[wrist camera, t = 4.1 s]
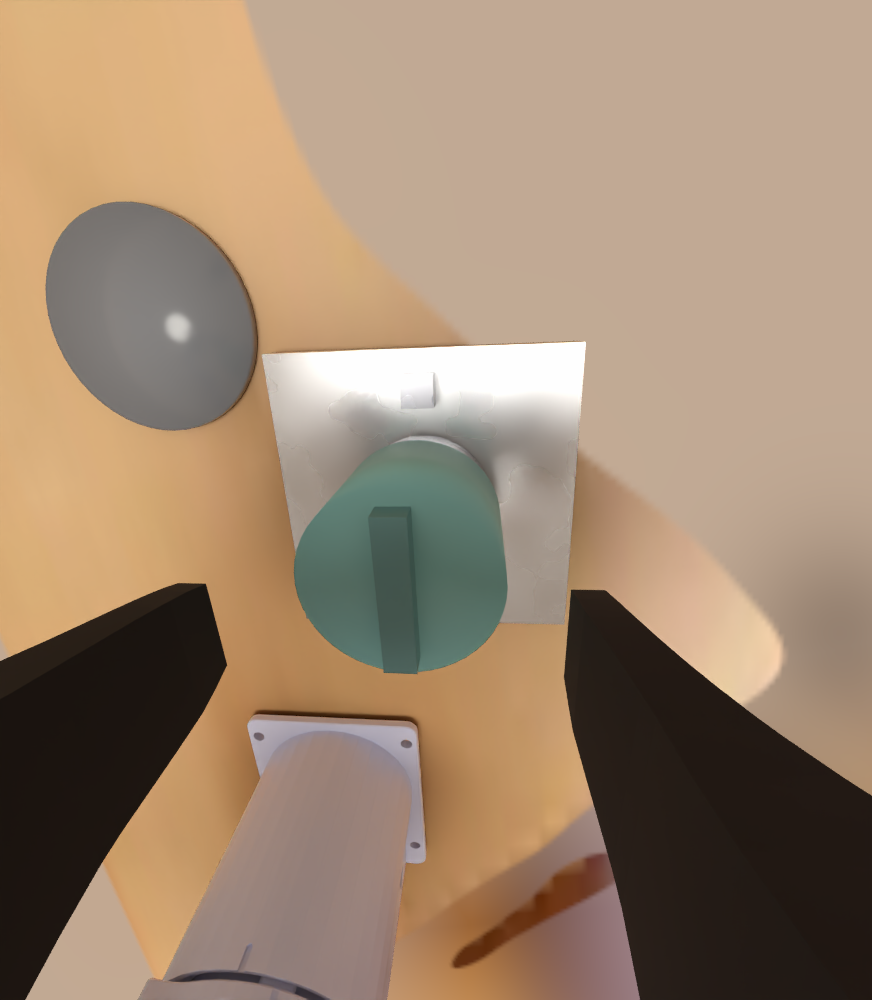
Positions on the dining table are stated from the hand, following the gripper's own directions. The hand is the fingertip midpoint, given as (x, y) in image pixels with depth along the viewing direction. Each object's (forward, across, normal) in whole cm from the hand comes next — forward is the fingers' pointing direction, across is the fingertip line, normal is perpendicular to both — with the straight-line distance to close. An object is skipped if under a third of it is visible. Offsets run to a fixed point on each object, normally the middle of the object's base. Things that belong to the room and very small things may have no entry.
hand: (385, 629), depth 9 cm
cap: (+6, 0, 0) cm, 6 cm away
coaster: (+8, +9, -6) cm, 14 cm away
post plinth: (+8, 0, 0) cm, 8 cm away
